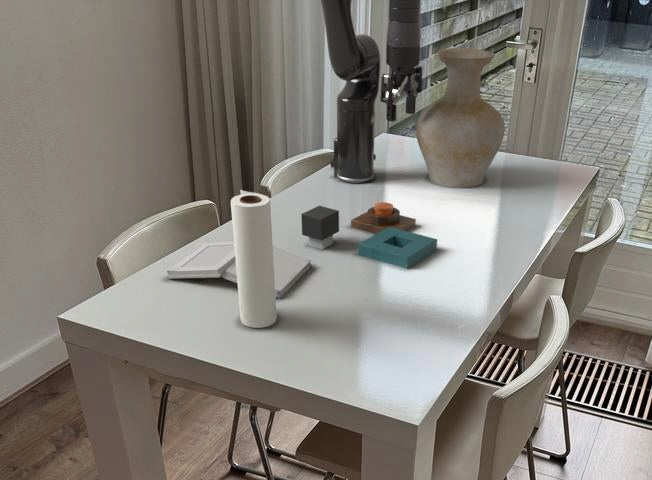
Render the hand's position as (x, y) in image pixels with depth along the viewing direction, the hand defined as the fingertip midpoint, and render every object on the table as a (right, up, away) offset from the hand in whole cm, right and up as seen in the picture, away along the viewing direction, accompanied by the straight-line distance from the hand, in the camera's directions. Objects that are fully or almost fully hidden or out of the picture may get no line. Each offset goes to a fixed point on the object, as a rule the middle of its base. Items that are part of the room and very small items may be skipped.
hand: (400, 117), depth 180 cm
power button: (-4, -25, -14) cm, 29 cm away
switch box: (-4, -28, -12) cm, 31 cm away
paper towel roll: (-25, -52, -49) cm, 75 cm away
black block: (-17, -34, -21) cm, 43 cm away
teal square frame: (-1, -36, -23) cm, 43 cm away
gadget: (-31, -41, -33) cm, 62 cm away
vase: (+15, -10, +17) cm, 25 cm away
